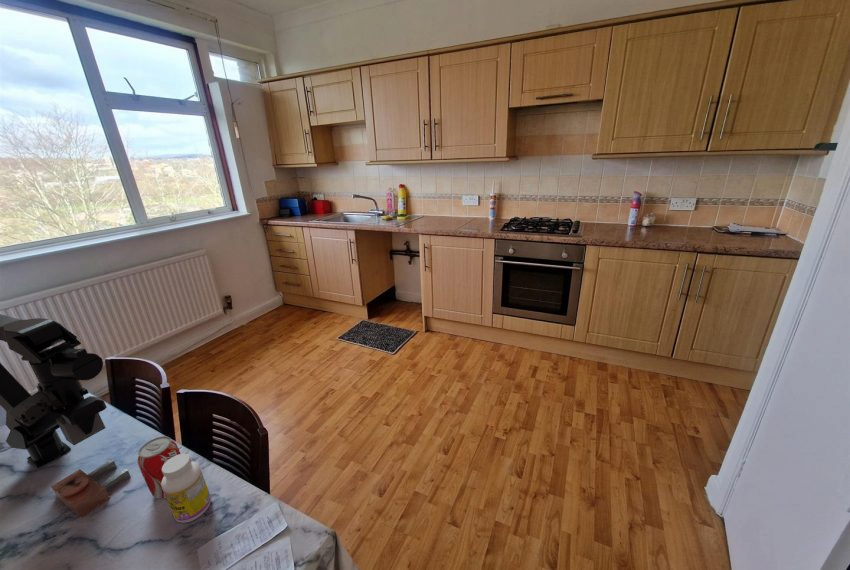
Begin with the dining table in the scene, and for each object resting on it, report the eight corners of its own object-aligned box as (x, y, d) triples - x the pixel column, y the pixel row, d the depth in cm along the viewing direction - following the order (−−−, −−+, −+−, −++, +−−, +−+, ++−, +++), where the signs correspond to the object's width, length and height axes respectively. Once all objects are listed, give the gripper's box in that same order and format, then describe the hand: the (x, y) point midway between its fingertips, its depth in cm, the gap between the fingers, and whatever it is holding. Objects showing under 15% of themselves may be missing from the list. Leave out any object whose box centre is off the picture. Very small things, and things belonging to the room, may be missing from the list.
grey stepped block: (66, 440, 82) (53, 415, 79) (97, 423, 87) (86, 399, 84) (74, 445, 80) (61, 420, 78) (105, 428, 85) (94, 403, 82)
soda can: (171, 504, 74) (153, 461, 70) (144, 499, 76) (125, 457, 72) (197, 476, 81) (182, 435, 77) (172, 472, 82) (156, 432, 78)
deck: (56, 496, 78) (48, 483, 76) (110, 462, 86) (104, 450, 85) (81, 518, 72) (73, 504, 71) (135, 480, 81) (129, 467, 79)
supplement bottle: (168, 517, 72) (147, 470, 67) (199, 490, 77) (182, 445, 73) (188, 529, 69) (168, 482, 65) (218, 501, 75) (202, 455, 70)
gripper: (-11, 385, 75) (22, 442, 80) (22, 409, 67) (56, 470, 72) (57, 359, 84) (83, 411, 90) (93, 377, 76) (119, 433, 81)
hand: (84, 430), depth 83 cm, fingers closed on grey stepped block, 4 cm apart
